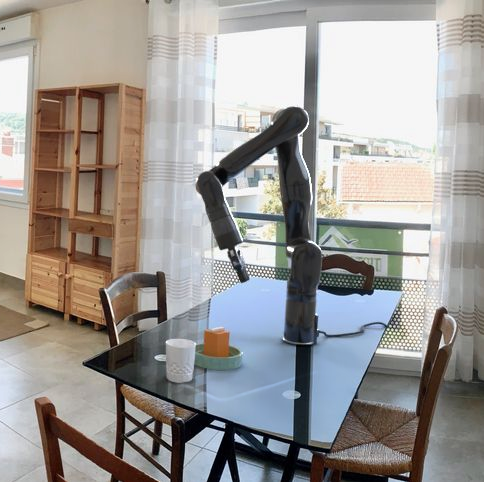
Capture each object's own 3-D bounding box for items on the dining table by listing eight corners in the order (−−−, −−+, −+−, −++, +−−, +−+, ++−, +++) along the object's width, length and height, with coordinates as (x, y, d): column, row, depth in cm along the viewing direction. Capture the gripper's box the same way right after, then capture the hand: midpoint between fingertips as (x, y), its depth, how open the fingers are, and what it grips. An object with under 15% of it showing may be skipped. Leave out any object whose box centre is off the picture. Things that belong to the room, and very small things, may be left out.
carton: (214, 358, 182) (216, 324, 181) (228, 362, 178) (229, 328, 176) (203, 360, 179) (204, 327, 178) (216, 365, 175) (217, 331, 174)
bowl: (231, 355, 186) (231, 342, 186) (249, 371, 172) (250, 357, 171) (184, 355, 185) (184, 343, 185) (198, 372, 171) (198, 358, 170)
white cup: (161, 374, 169) (162, 338, 168) (189, 373, 170) (190, 338, 168) (169, 384, 161) (170, 347, 160) (198, 383, 162) (199, 347, 161)
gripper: (235, 227, 184) (256, 278, 182) (239, 228, 197) (258, 276, 195) (211, 236, 187) (231, 287, 184) (217, 237, 200) (235, 284, 198)
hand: (245, 281), depth 190 cm, fingers open, 8 cm apart
